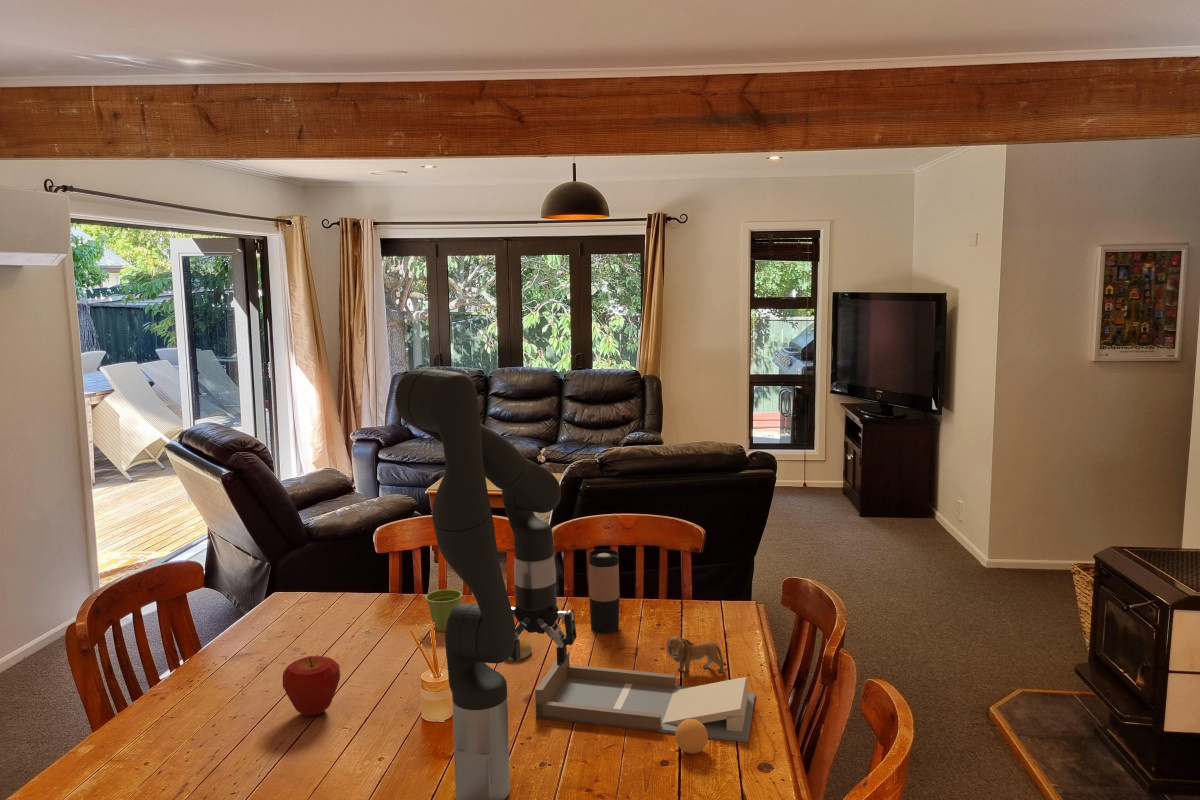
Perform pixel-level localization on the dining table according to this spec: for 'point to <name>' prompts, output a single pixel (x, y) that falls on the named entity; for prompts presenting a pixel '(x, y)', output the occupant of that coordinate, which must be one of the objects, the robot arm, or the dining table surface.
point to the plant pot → (442, 606)
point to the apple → (311, 683)
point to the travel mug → (604, 590)
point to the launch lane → (643, 701)
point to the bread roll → (523, 649)
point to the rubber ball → (691, 736)
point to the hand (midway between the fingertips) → (538, 661)
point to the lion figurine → (693, 653)
